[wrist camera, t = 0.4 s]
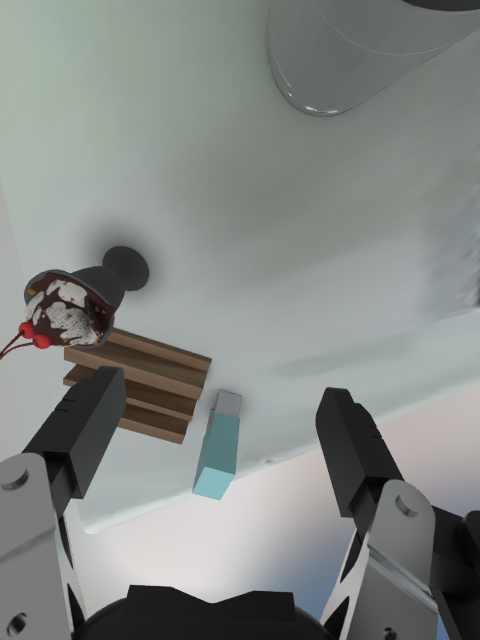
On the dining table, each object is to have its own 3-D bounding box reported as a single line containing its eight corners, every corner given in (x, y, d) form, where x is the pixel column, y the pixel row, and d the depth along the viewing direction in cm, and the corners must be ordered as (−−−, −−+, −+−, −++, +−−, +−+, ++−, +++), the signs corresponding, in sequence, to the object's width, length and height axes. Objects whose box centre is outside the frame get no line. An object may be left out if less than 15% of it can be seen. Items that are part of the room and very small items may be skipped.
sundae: (85, 273, 30) (-50, 355, 17) (112, 224, 27) (-24, 278, 14) (137, 308, 32) (52, 408, 19) (168, 266, 29) (92, 348, 16)
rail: (84, 318, 33) (64, 335, 30) (211, 359, 35) (206, 379, 31) (78, 397, 40) (62, 418, 36) (185, 428, 42) (179, 451, 38)
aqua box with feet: (219, 388, 37) (204, 466, 28) (241, 395, 37) (235, 474, 28) (208, 413, 40) (192, 493, 30) (229, 420, 40) (219, 500, 30)
